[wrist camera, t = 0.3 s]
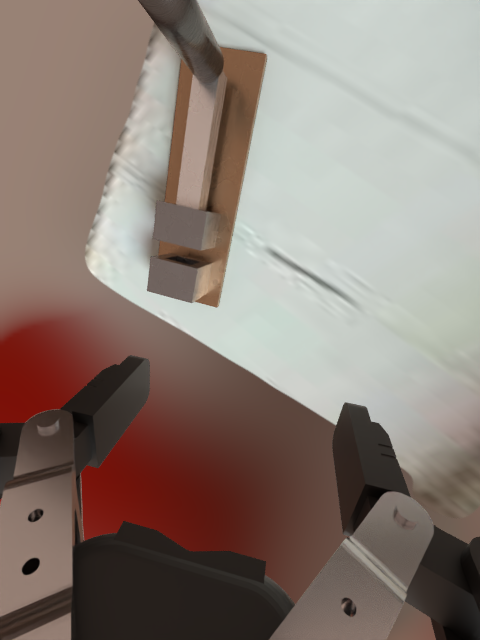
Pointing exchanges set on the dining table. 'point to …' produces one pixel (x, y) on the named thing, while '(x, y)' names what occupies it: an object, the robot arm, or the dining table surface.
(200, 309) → the dining table surface
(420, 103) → the dining table surface
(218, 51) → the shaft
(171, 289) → the shaft bracket
